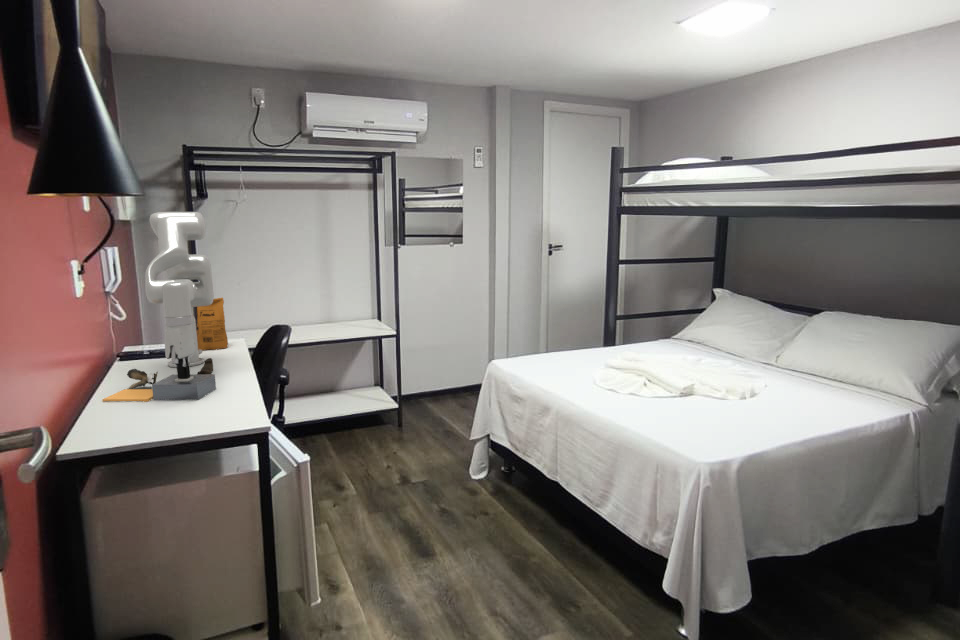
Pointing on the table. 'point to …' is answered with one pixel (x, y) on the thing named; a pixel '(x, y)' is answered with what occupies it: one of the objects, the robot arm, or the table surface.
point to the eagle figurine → (141, 378)
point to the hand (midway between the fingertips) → (184, 378)
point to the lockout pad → (131, 395)
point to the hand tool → (207, 367)
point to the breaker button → (185, 379)
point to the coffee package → (211, 326)
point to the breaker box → (184, 387)
